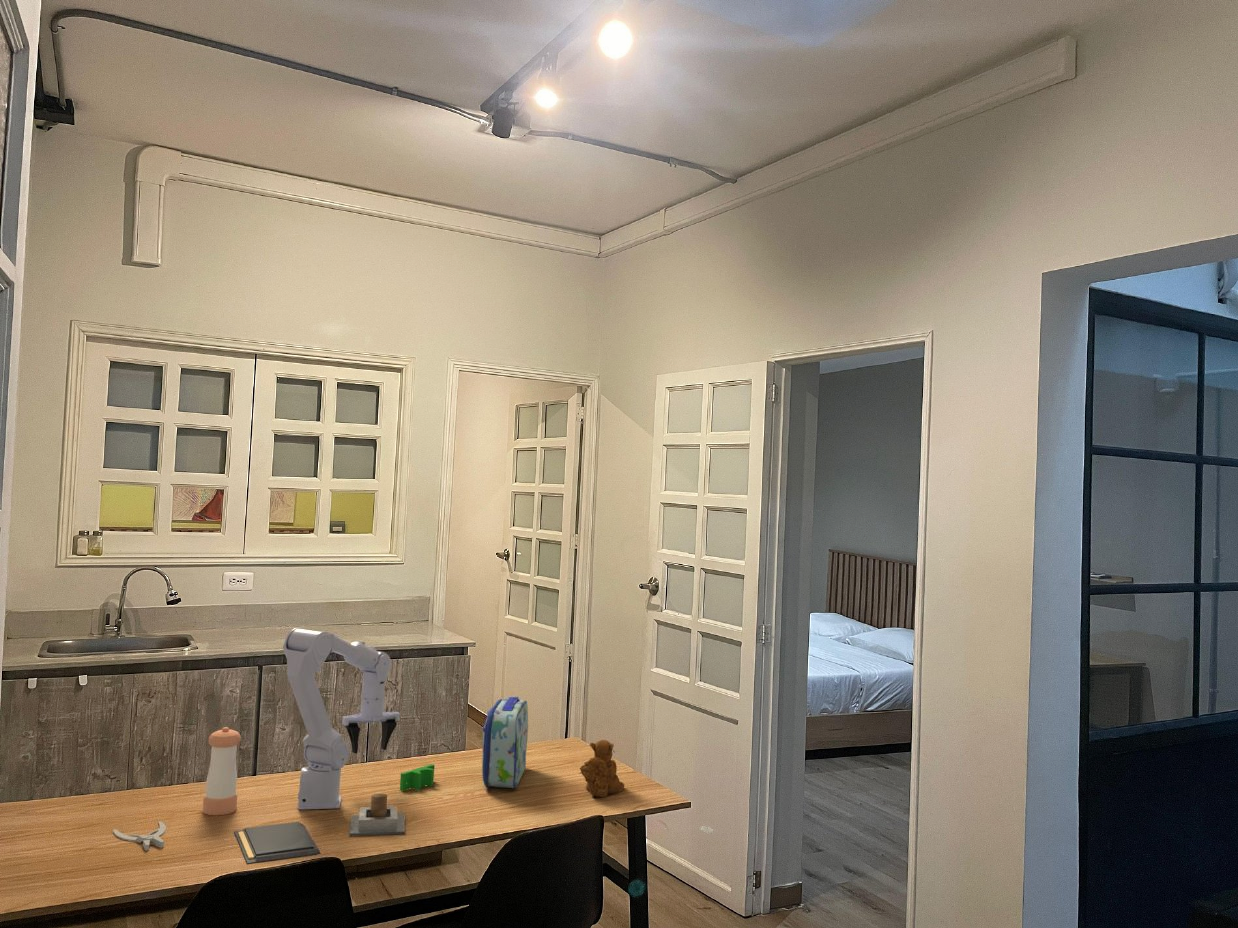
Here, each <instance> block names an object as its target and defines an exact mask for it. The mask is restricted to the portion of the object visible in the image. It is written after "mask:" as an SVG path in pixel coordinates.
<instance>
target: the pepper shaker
mask: <svg viewBox="0 0 1238 928" xmlns="http://www.w3.org/2000/svg"><path fill="white" fill-rule="evenodd" d="M241 740H242V735H241V734H240V733H239V732H238V731H236V730H234V729H230V728H229V727H228V726H224V727H222V728H221V729H219V730H216V731H214V732H212V733H211V734H210V736H209V737H208V744H209V745H210V746H211V750H210V760H209V761H210V763H209V768H208V772H207V776H206V777H207V778H206V782H205V794H204V795H203V799H202V800H203V803H202V813H203V814H205V815H209V816H222V815H228V814H232V813H234V812H235V811H236V810H237V806H238V793H237V783H238V773H237V749H238V745H239V744H240V742H241Z"/></svg>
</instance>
